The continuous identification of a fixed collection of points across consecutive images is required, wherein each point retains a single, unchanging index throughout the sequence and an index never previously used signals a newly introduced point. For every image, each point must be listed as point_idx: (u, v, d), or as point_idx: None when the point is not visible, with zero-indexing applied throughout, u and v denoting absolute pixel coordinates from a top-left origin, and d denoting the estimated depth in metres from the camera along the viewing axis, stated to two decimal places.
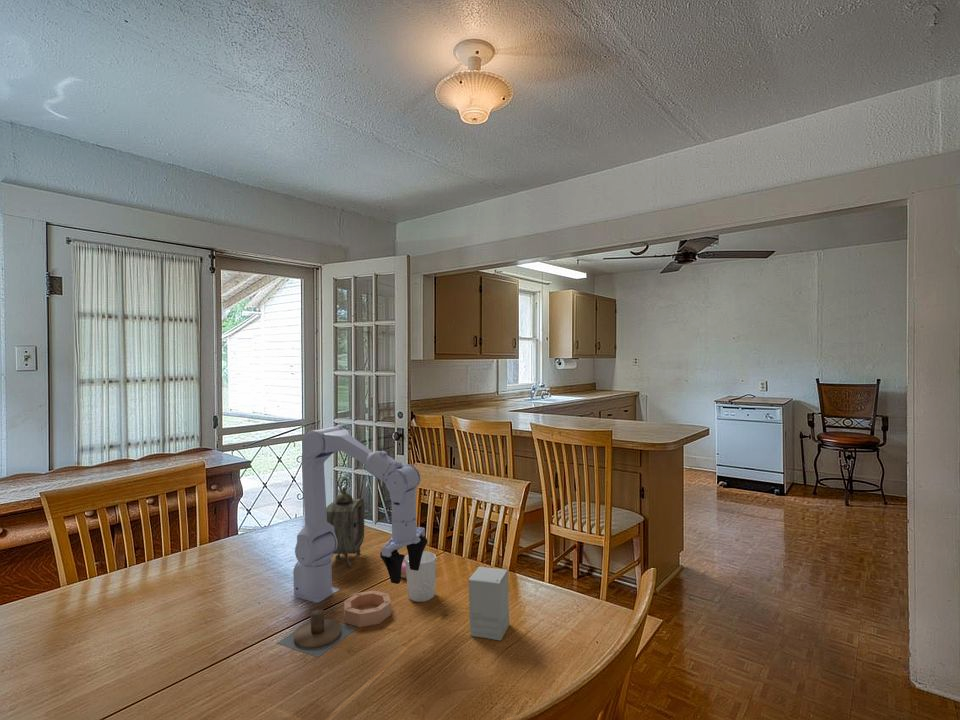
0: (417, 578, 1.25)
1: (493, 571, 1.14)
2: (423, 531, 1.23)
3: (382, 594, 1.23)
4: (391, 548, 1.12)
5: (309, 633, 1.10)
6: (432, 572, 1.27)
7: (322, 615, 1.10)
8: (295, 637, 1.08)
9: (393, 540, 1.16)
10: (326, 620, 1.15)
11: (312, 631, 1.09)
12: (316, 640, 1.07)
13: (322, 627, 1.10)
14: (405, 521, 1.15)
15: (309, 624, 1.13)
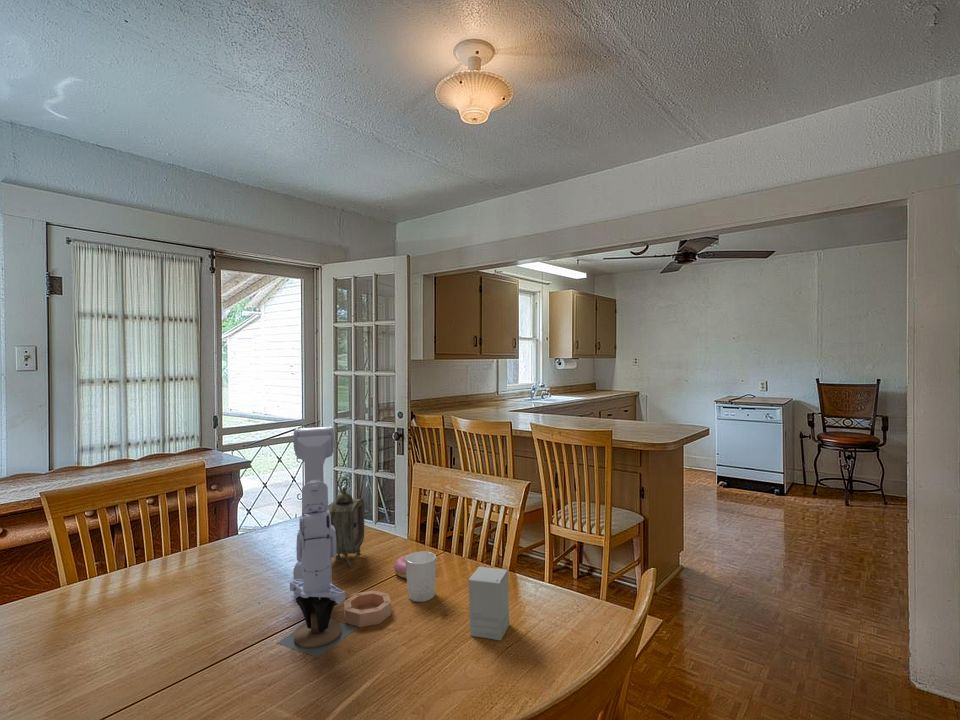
0: (417, 578, 1.25)
1: (493, 571, 1.13)
2: (335, 597, 1.07)
3: (382, 594, 1.23)
4: (292, 584, 1.12)
5: (309, 633, 1.10)
6: (432, 572, 1.27)
7: None
8: (295, 637, 1.08)
9: None
10: None
11: (312, 631, 1.09)
12: (316, 640, 1.07)
13: None
14: None
15: None
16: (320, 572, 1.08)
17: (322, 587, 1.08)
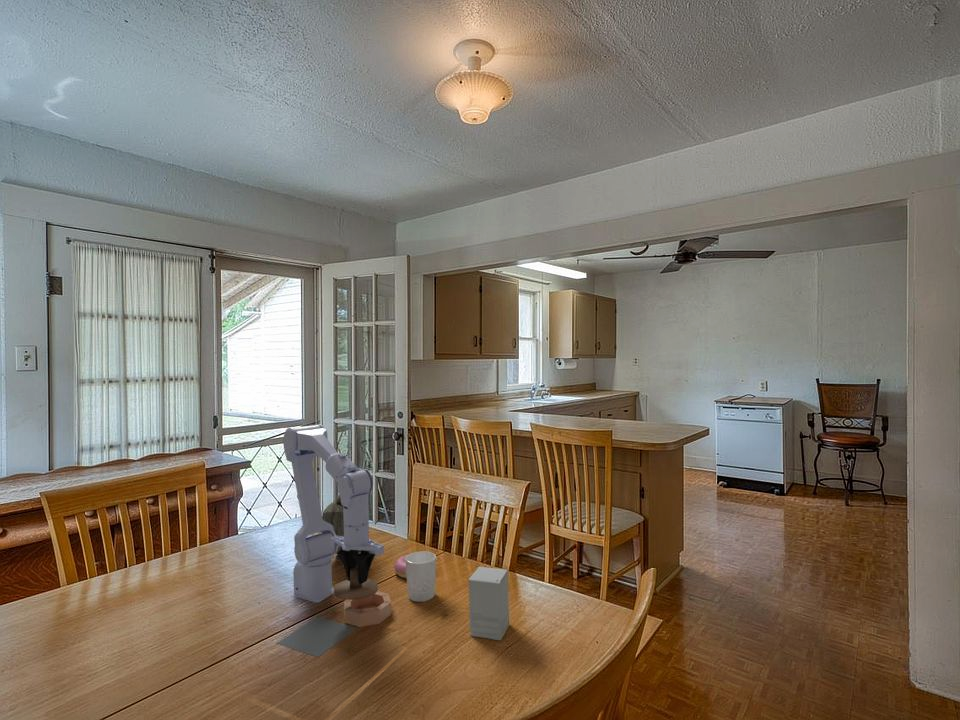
0: (417, 578, 1.25)
1: (493, 571, 1.13)
2: (375, 550, 1.14)
3: (382, 594, 1.23)
4: (333, 539, 1.20)
5: (348, 587, 1.16)
6: (432, 572, 1.27)
7: None
8: (335, 589, 1.15)
9: None
10: None
11: (351, 585, 1.16)
12: (355, 592, 1.13)
13: None
14: None
15: (347, 581, 1.20)
16: (360, 527, 1.15)
17: (362, 541, 1.15)
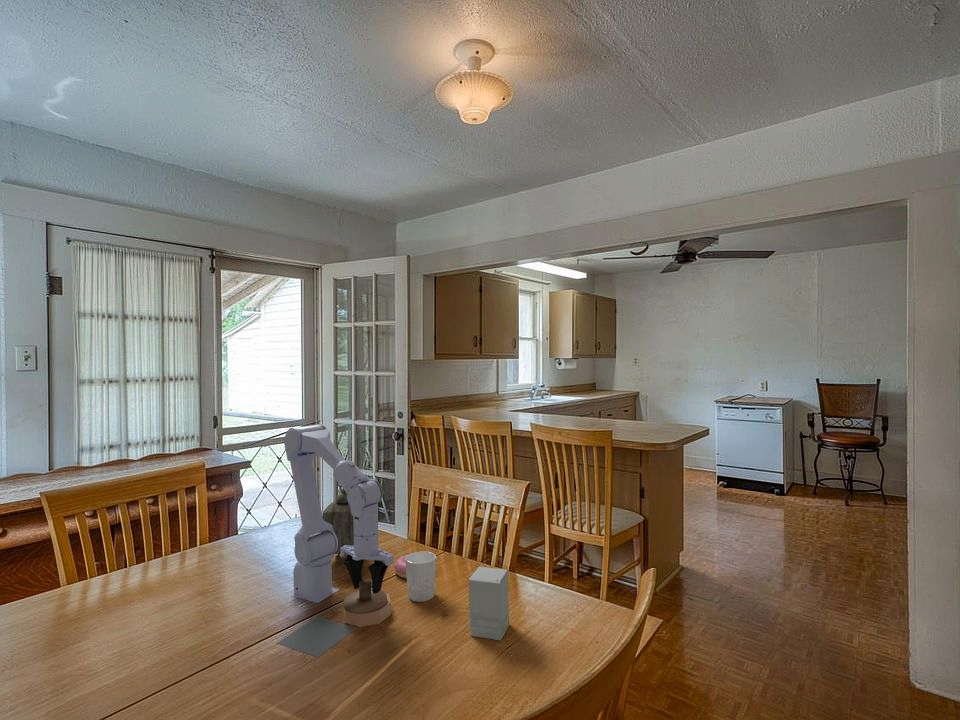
0: (417, 578, 1.25)
1: (493, 571, 1.13)
2: (385, 560, 1.15)
3: None
4: (342, 549, 1.21)
5: (358, 600, 1.18)
6: (432, 572, 1.27)
7: (369, 584, 1.18)
8: (345, 603, 1.16)
9: None
10: (371, 590, 1.23)
11: (360, 598, 1.18)
12: (365, 606, 1.15)
13: (369, 595, 1.18)
14: None
15: (357, 593, 1.22)
16: (370, 537, 1.17)
17: (372, 551, 1.17)
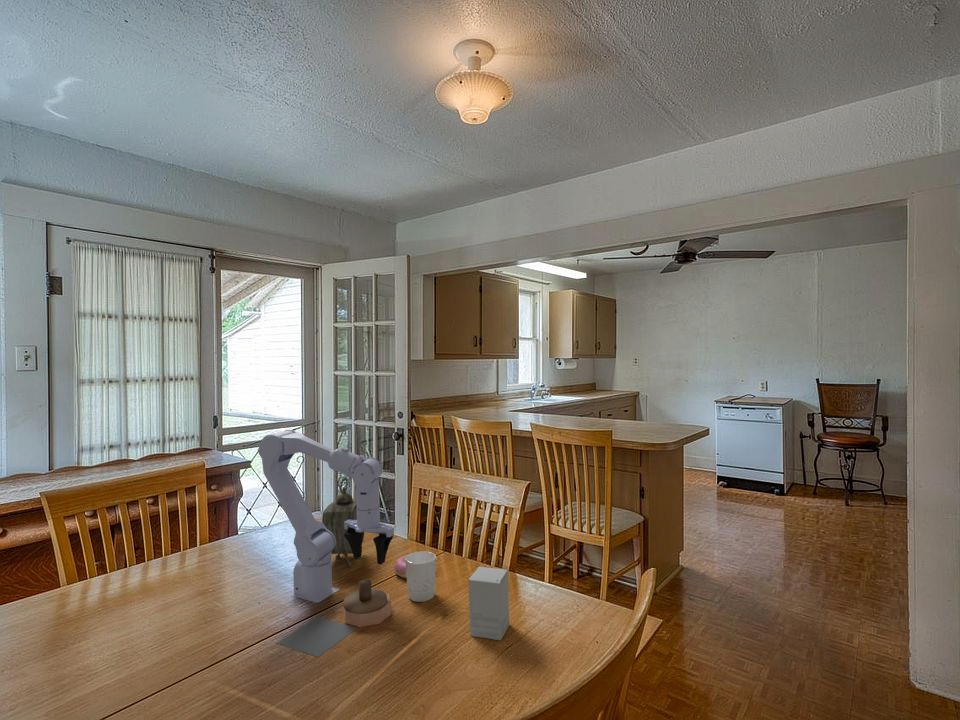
0: (417, 578, 1.25)
1: (493, 571, 1.13)
2: (386, 531, 1.24)
3: None
4: (346, 523, 1.30)
5: (358, 600, 1.18)
6: (432, 572, 1.27)
7: (369, 584, 1.18)
8: (345, 603, 1.16)
9: None
10: (371, 590, 1.23)
11: (360, 598, 1.18)
12: (365, 606, 1.15)
13: (369, 595, 1.18)
14: None
15: (357, 593, 1.22)
16: (372, 511, 1.25)
17: (374, 524, 1.26)
